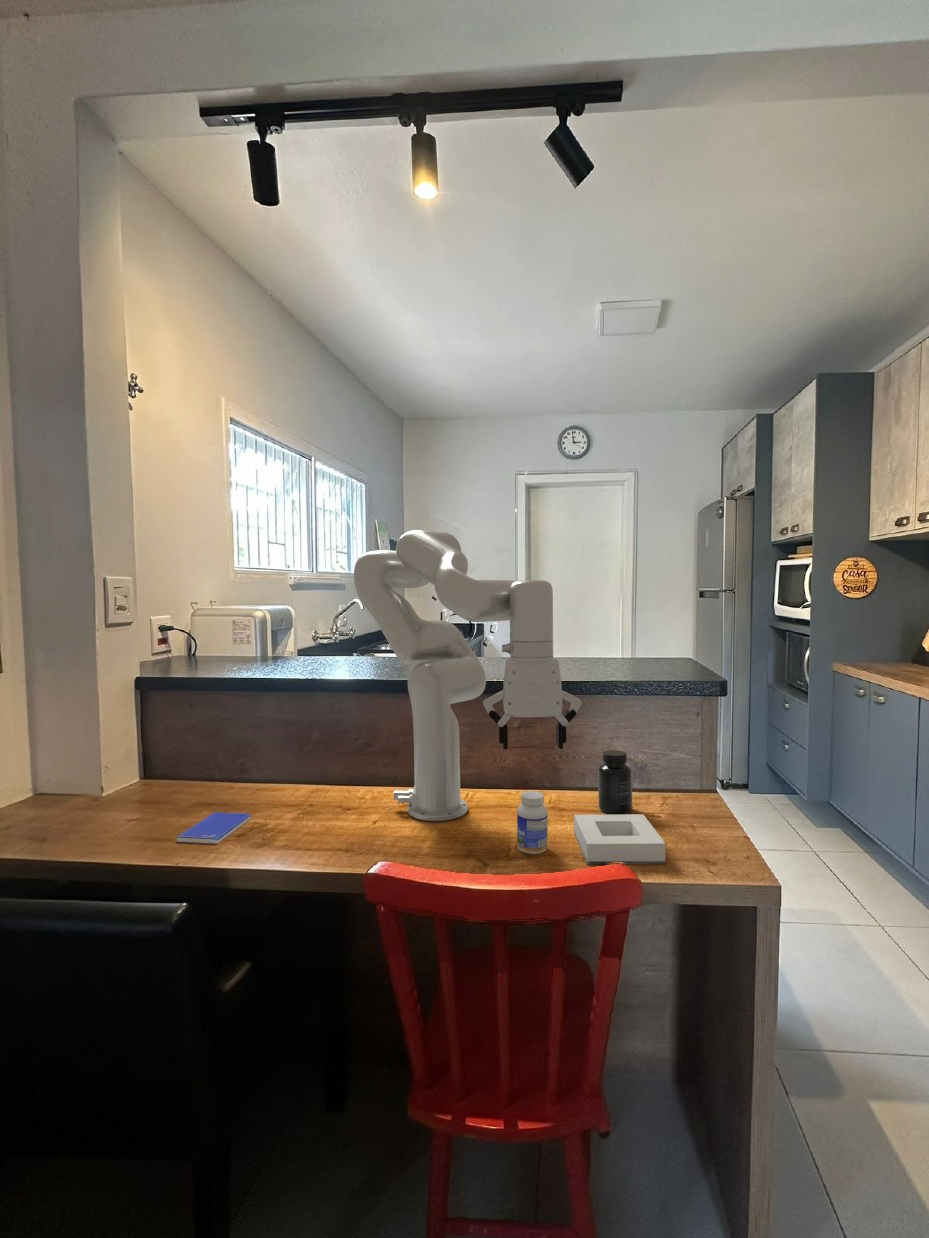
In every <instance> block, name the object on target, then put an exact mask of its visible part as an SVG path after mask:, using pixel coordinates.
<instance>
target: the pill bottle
mask: <svg viewBox="0 0 929 1238" xmlns="http://www.w3.org/2000/svg"><path fill="white" fill-rule="evenodd" d="M520 803H521V804H520V805H518V807H517V810H516V812H517V813H516V816H517V817H516V823H517V824H516V826H517V827H516V828H517V829H516V830H517V831H516V832H517V834H516V837H517V838H516V845H517V849H518V850H519V851H520V852H522V853H526V854H530V855H539V854H543V853H544V852H547V849H548V808H547V806H546V805H544V803H545V795H544V793H542V792H539V791H536V790H529V791H528V790H527V791H524V792H522V793H521V797H520Z"/></svg>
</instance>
